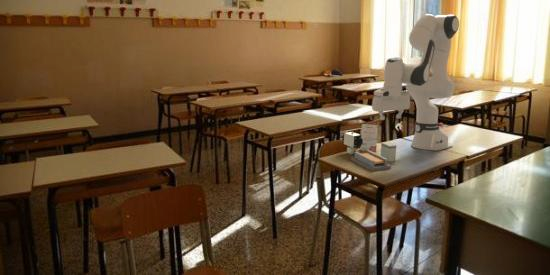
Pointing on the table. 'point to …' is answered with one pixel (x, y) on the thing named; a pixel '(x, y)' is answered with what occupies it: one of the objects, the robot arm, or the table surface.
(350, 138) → the pneumatic valve
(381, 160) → the brown flat bar
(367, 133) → the ink cartridge box
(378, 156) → the channel rail
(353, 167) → the table surface
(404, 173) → the table surface
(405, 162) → the table surface
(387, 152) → the module block
